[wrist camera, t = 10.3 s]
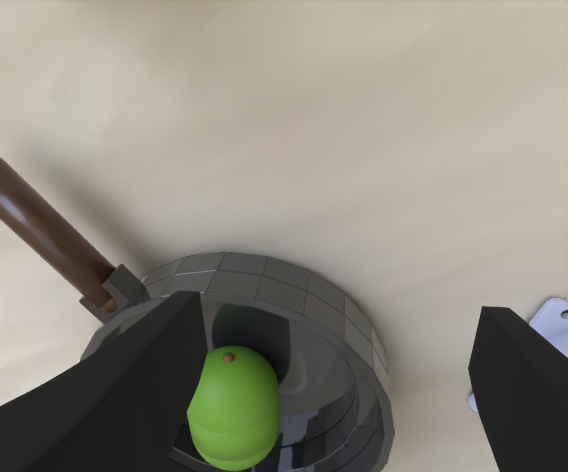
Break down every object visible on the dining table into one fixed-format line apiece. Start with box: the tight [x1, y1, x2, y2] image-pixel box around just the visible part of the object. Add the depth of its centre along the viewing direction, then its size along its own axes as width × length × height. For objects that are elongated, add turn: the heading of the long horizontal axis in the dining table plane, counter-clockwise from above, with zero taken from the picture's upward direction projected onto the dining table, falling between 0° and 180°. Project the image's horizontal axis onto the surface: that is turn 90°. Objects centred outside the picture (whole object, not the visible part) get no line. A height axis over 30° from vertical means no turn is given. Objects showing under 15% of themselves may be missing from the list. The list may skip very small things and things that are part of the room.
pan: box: [80, 252, 395, 472], centre depth 23 cm, size 16×16×4 cm
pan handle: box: [0, 158, 146, 324], centre depth 19 cm, size 9×2×2 cm, turn 38°
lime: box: [187, 345, 281, 471], centre depth 23 cm, size 8×5×5 cm, turn 1°
